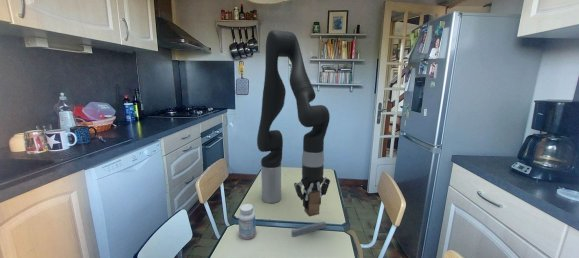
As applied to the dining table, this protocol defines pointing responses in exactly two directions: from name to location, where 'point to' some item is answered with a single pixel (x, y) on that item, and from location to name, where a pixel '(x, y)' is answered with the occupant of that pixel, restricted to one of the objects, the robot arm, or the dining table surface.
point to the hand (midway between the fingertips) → (311, 206)
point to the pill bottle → (247, 222)
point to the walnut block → (313, 203)
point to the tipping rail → (308, 228)
